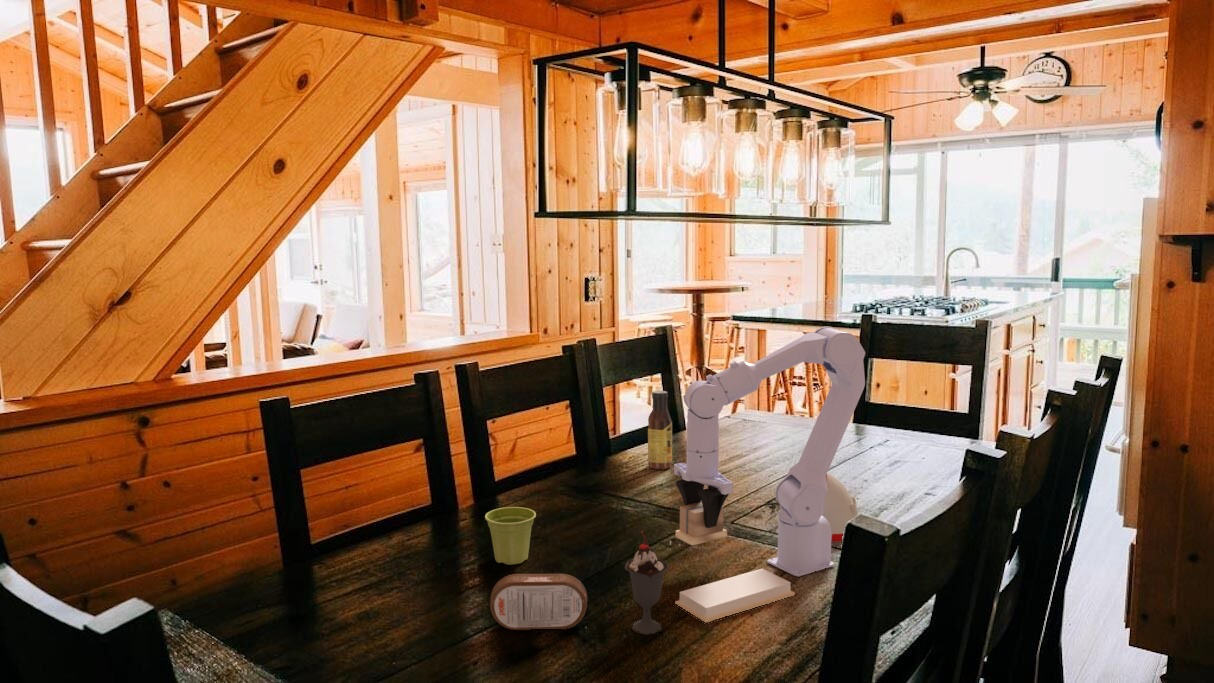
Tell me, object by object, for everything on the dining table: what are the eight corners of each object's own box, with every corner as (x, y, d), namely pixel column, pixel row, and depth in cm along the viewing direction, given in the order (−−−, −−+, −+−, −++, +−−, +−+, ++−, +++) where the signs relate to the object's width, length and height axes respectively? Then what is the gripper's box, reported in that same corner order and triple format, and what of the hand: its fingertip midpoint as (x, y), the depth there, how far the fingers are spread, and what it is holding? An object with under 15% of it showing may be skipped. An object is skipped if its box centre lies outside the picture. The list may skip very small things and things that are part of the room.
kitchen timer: (857, 521, 176) (860, 452, 174) (858, 545, 163) (861, 470, 161) (790, 515, 180) (792, 448, 178) (786, 538, 166) (788, 465, 164)
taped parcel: (710, 528, 154) (710, 499, 153) (727, 536, 150) (727, 506, 149) (675, 536, 150) (675, 506, 149) (691, 545, 146) (692, 514, 145)
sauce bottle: (672, 470, 213) (673, 394, 210) (648, 470, 213) (648, 394, 211) (671, 463, 220) (671, 389, 217) (647, 463, 220) (647, 389, 217)
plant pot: (481, 553, 159) (480, 509, 158) (529, 546, 162) (528, 503, 161) (492, 572, 150) (491, 526, 149) (542, 564, 153) (541, 519, 152)
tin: (587, 622, 131) (587, 571, 130) (587, 631, 128) (587, 579, 127) (491, 623, 131) (490, 572, 129) (489, 633, 127) (488, 581, 126)
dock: (675, 604, 137) (675, 591, 136) (762, 579, 147) (762, 566, 146) (705, 624, 130) (705, 610, 130) (794, 595, 140) (794, 582, 140)
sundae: (641, 613, 134) (642, 524, 132) (676, 626, 129) (677, 533, 127) (616, 629, 128) (615, 535, 126) (651, 642, 124) (651, 546, 122)
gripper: (660, 443, 152) (660, 514, 154) (710, 461, 140) (710, 539, 141) (691, 438, 156) (690, 508, 157) (742, 455, 143) (741, 531, 145)
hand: (702, 522), depth 150 cm, fingers closed on taped parcel, 4 cm apart
